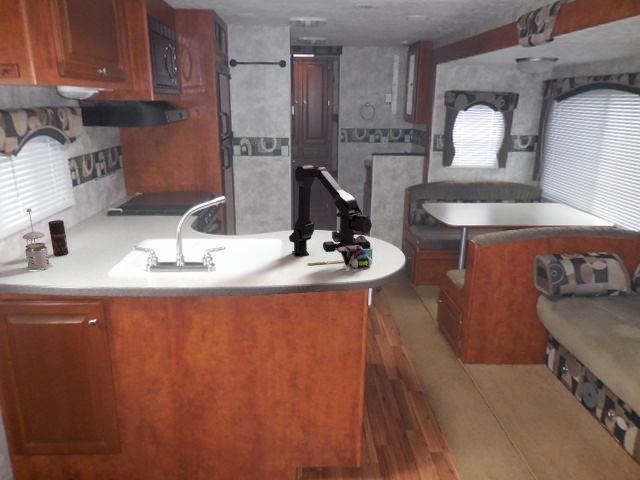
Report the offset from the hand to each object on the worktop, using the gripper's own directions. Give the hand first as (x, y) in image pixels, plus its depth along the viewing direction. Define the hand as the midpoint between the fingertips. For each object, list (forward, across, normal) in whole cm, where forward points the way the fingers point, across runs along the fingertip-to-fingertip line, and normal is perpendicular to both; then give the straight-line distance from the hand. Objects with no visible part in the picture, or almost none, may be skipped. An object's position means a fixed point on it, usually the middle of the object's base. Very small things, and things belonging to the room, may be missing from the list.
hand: (346, 265), depth 205 cm
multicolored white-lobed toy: (+1, -6, -1) cm, 7 cm away
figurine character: (+1, -10, -29) cm, 31 cm away
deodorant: (+2, +119, -48) cm, 128 cm away
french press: (+2, +124, -32) cm, 128 cm away
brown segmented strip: (+1, +3, -7) cm, 8 cm away
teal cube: (+1, -12, -10) cm, 15 cm away
